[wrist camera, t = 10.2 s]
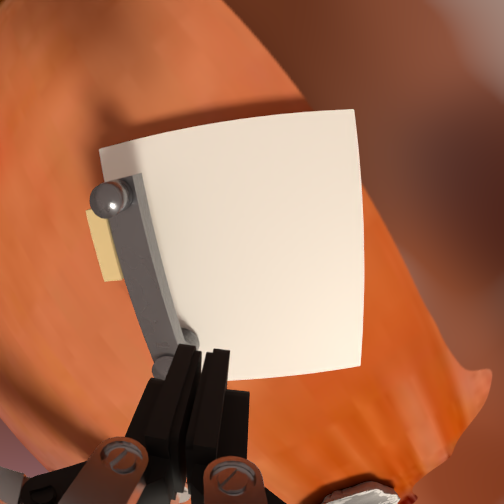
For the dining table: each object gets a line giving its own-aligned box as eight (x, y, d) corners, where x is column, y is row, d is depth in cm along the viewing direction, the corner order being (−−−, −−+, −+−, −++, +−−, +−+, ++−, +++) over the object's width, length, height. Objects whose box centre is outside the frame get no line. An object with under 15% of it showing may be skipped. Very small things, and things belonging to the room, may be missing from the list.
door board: (166, 372, 30) (150, 414, 24) (107, 148, 23) (67, 153, 17) (356, 356, 29) (372, 398, 23) (348, 110, 21) (374, 102, 16)
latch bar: (203, 354, 27) (190, 402, 21) (171, 356, 27) (153, 402, 21) (157, 168, 22) (123, 178, 16) (121, 177, 22) (79, 190, 16)
